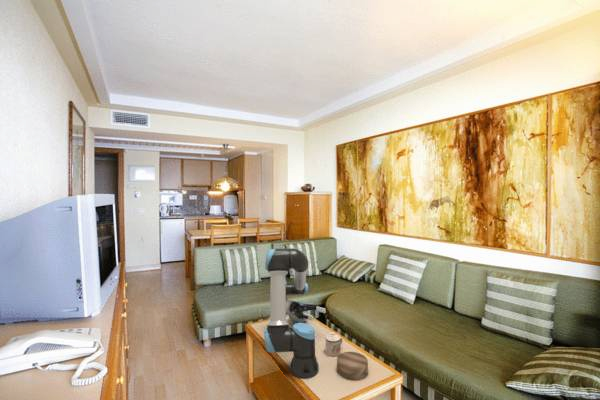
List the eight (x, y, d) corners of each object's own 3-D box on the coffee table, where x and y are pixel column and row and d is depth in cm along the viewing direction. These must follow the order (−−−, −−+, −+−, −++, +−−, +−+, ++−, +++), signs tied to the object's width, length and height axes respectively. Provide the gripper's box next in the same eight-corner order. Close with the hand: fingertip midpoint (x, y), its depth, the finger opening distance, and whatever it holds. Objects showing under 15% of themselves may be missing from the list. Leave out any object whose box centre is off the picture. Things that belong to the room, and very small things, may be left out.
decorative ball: (312, 322, 212) (312, 301, 212) (299, 329, 201) (299, 307, 201) (297, 316, 222) (297, 297, 222) (283, 323, 211) (283, 302, 210)
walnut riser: (359, 384, 140) (359, 372, 140) (331, 373, 150) (331, 361, 150) (372, 369, 153) (372, 357, 153) (346, 359, 163) (345, 348, 163)
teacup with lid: (333, 358, 163) (332, 338, 163) (322, 352, 170) (321, 332, 170) (347, 351, 171) (347, 331, 171) (336, 345, 178) (336, 326, 178)
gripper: (303, 306, 200) (329, 313, 187) (280, 319, 181) (307, 328, 168) (303, 295, 200) (329, 302, 187) (279, 307, 180) (307, 315, 168)
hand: (319, 314), depth 177 cm, fingers open, 13 cm apart
